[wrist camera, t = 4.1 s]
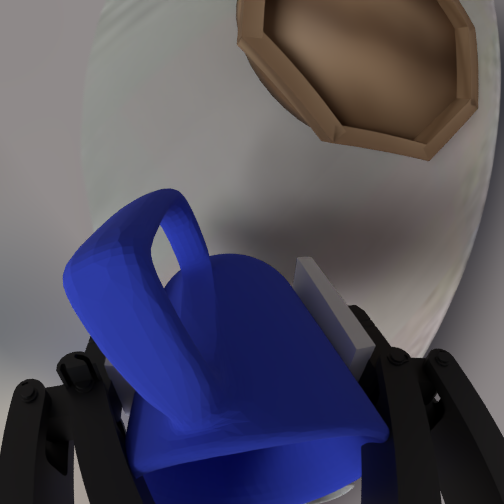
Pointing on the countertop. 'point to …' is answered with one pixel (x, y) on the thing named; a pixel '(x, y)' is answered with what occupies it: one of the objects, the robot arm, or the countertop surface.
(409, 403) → the robot arm
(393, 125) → the octagonal wooden tray
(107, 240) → the mug
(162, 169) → the countertop surface
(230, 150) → the countertop surface
